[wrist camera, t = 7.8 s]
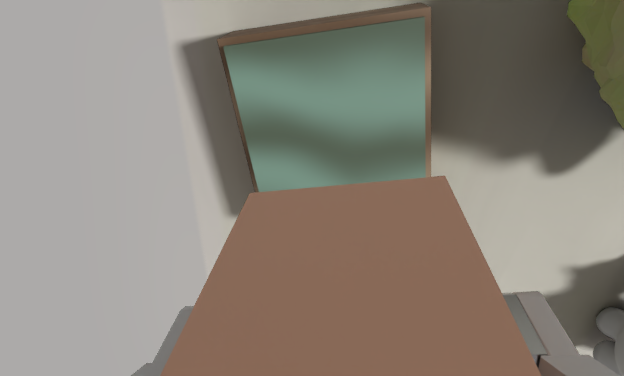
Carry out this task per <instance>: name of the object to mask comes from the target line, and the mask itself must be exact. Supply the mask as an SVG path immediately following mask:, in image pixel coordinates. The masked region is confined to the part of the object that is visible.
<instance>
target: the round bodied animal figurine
mask: <svg viewBox="0 0 624 376" xmlns="http://www.w3.org/2000/svg"><path fill="white" fill-rule="evenodd" d="M596 324H597V326H598V328H599V330H600V331H601V332H602V333H604V334H605V335H606V336H608V337H610V338H612V339H614V340H615V341H616V342H613V341H602V342H600V343H599V344H598V345H597V346H596V347H595V348H594V350H593V357H594V359H595V360H597V361H599V362H600V363H602V364H603V365H605V366H606V367H608V368H609V369H611V370H612V371H614V372H615V373H617V374H618V375H620V376H624V311H622V310H620V309H618V308H613V307H609V308H606V309H604V310H602V311H601V312H600V313H599V314H598V316H597V318H596Z"/></svg>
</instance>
